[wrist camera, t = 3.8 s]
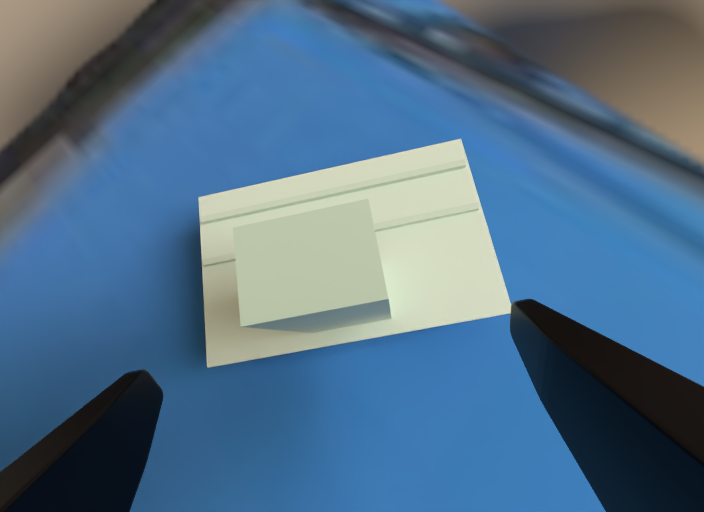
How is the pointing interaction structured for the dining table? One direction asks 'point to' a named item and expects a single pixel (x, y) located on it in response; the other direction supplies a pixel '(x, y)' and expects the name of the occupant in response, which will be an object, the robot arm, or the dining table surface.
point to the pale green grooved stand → (347, 256)
